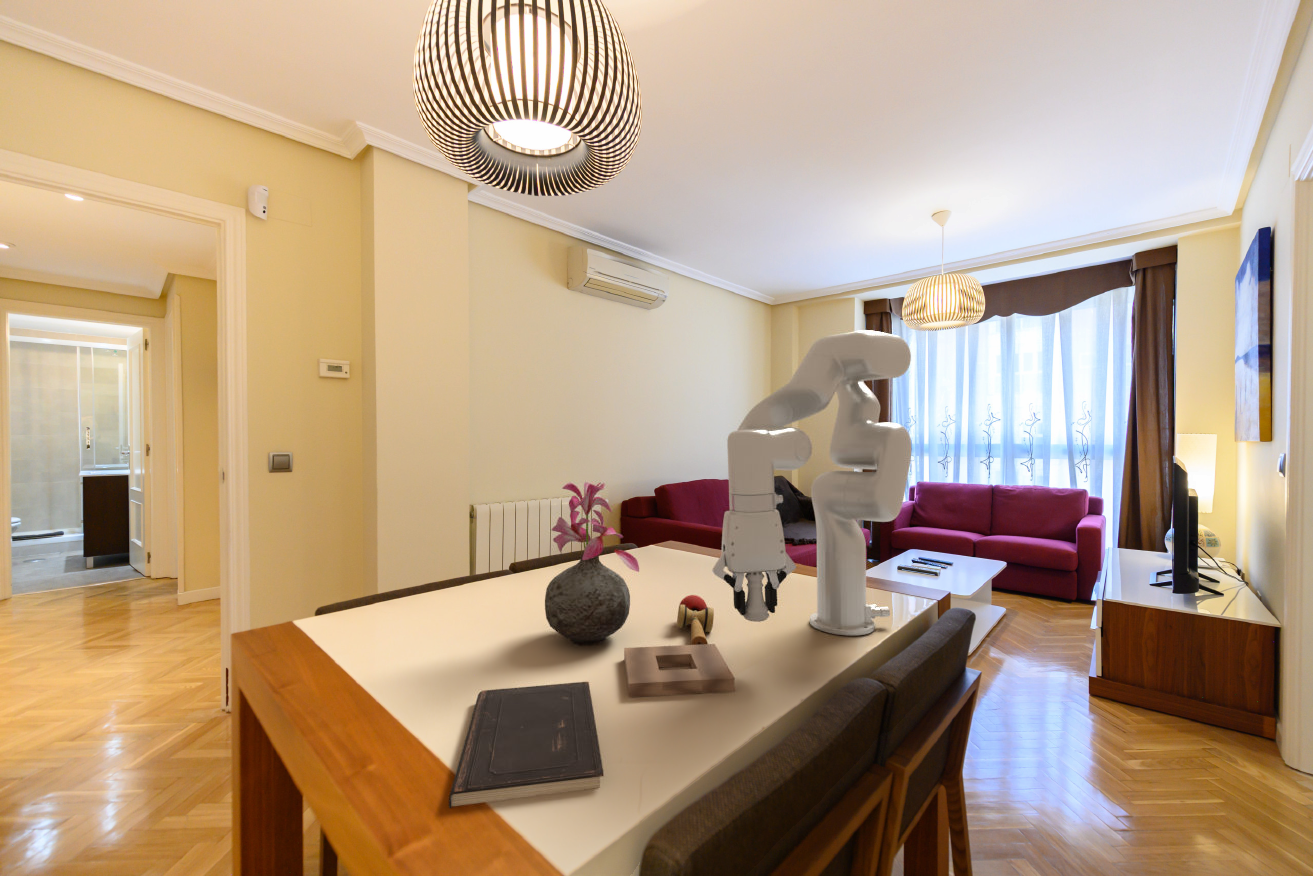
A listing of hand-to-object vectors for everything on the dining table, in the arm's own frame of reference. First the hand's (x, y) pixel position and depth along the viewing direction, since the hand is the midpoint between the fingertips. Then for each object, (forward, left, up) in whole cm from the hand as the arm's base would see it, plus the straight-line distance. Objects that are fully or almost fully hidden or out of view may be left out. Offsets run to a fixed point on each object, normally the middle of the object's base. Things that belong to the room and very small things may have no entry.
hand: (755, 610), depth 91 cm
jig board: (+14, +2, -9) cm, 17 cm away
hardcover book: (+35, +19, -10) cm, 41 cm away
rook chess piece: (0, 0, -1) cm, 1 cm away
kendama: (+7, -16, -10) cm, 20 cm away
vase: (+28, -16, -10) cm, 34 cm away
